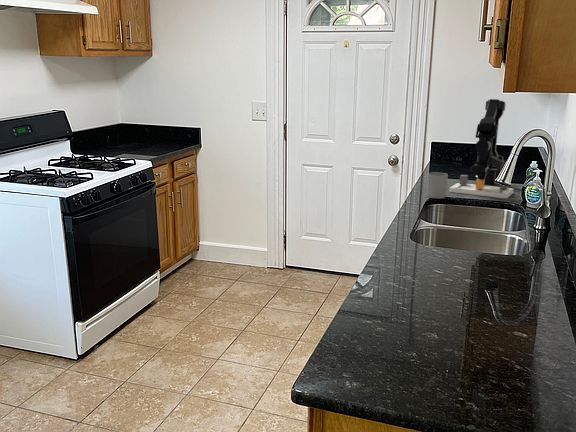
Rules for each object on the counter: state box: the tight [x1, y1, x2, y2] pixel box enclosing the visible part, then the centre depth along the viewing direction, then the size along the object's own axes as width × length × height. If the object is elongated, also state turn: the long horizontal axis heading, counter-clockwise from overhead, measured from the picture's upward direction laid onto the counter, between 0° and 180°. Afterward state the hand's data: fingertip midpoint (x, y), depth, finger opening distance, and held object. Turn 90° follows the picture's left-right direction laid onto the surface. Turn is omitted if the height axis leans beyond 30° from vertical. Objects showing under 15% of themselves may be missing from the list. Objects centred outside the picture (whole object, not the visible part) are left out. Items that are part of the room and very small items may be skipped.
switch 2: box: [499, 184, 509, 189], centre depth 247 cm, size 3×3×4 cm
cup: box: [426, 171, 449, 199], centre depth 242 cm, size 8×8×10 cm
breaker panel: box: [448, 182, 514, 199], centre depth 251 cm, size 13×25×2 cm, turn 57°
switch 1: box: [458, 174, 469, 185], centre depth 257 cm, size 3×3×4 cm
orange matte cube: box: [475, 178, 485, 189], centre depth 247 cm, size 3×3×4 cm
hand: (481, 184), depth 250 cm, fingers closed
